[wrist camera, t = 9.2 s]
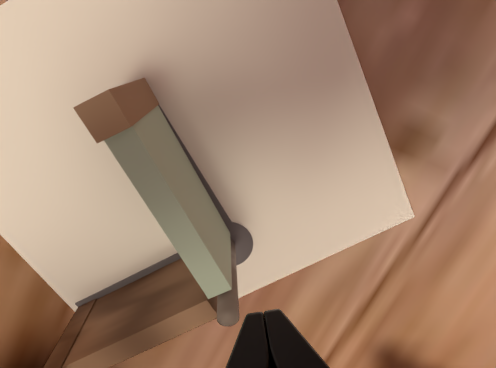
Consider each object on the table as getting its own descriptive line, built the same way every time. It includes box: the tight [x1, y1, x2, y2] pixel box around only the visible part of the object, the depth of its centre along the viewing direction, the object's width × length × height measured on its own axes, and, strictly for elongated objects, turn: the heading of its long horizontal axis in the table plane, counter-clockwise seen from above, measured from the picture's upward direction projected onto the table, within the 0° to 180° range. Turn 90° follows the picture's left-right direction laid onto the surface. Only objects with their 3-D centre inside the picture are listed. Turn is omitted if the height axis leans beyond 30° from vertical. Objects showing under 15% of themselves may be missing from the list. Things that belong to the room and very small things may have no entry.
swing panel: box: [73, 78, 232, 299], centre depth 15 cm, size 10×1×5 cm, turn 25°
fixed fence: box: [43, 239, 239, 368], centre depth 18 cm, size 11×1×6 cm, turn 117°
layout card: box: [0, 0, 414, 312], centre depth 18 cm, size 22×20×1 cm
